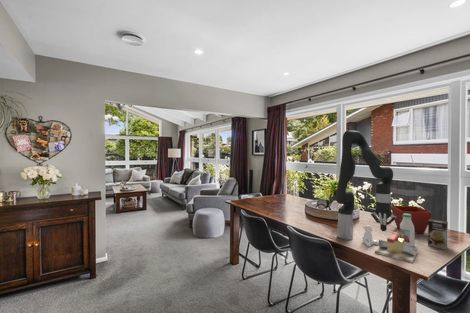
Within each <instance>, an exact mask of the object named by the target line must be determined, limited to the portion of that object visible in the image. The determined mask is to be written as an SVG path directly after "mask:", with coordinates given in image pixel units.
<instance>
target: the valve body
mask: <svg viewBox="0 0 470 313" xmlns="http://www.w3.org/2000/svg"><path fill="white" fill-rule="evenodd" d="M378 242H379V243H378V245H377V246H378V247H381V248H385V249H387V251H390V252H394V253H398V254H403V253H405V254H409V255H413V256H414V253H415V251H416V250H415V246H414V247H410V246H405V245H404V239H401V238H400V237H399V238H398V239H396V240H395V242H394V243H390V242H387V240H383V239H379V240H378Z"/></svg>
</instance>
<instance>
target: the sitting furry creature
mask: <svg viewBox="0 0 470 313" xmlns="http://www.w3.org/2000/svg"><path fill="white" fill-rule="evenodd" d="M362 228H363V230H364V231H365V232H364V234H363V236H362V243H364V245H366V246H367V247H371V246H374V245H375V246H379V245H378V243H379V241H378V240H374V239H373V234H372V232H373V227H371V225H369V224H367V225H364V226H362Z"/></svg>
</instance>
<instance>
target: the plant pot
mask: <svg viewBox="0 0 470 313" xmlns="http://www.w3.org/2000/svg"><path fill="white" fill-rule="evenodd" d="M391 212H392V214H393V215H394V216H396V217H397V218H396V219H395V220H394V223H395V226H396V228H397V229H399V230H400V224H401V222H402V220H403V214H404V213H406V214H411V221H412V223H413V225H414V231H415V234H424V233H425V232H426V230H427V228H428V221H429V219H431V217H432V211H429V210H427V209H424V208H421V207H419V206H414V205H413V206H412V205H391Z"/></svg>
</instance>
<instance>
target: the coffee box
mask: <svg viewBox="0 0 470 313" xmlns="http://www.w3.org/2000/svg"><path fill="white" fill-rule="evenodd" d="M448 225H449V222H448V221H443V220H438V219H431V218H430V219H429V221H428V226H427V228H428V229H427V230H428V231H427V246H428V247H433V248H437V249H442V250H447V249H448V229H449V228H448Z"/></svg>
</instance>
